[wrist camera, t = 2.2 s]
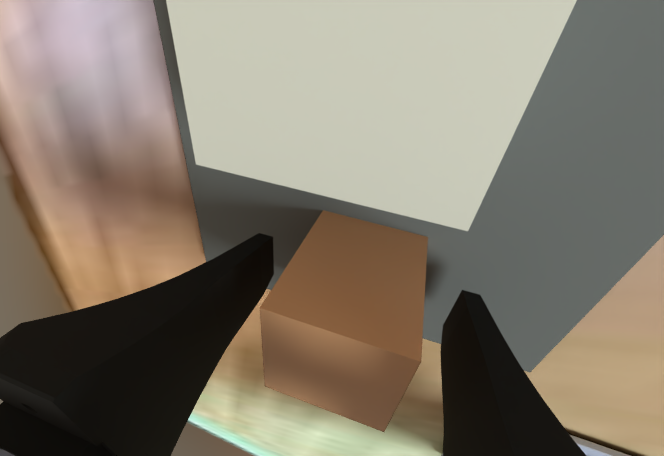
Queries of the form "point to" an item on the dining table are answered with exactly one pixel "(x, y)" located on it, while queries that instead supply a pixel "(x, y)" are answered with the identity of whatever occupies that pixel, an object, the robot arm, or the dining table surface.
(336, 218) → the terracotta block
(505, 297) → the grey flat plate
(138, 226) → the dining table surface
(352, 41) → the base block
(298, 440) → the dining table surface
